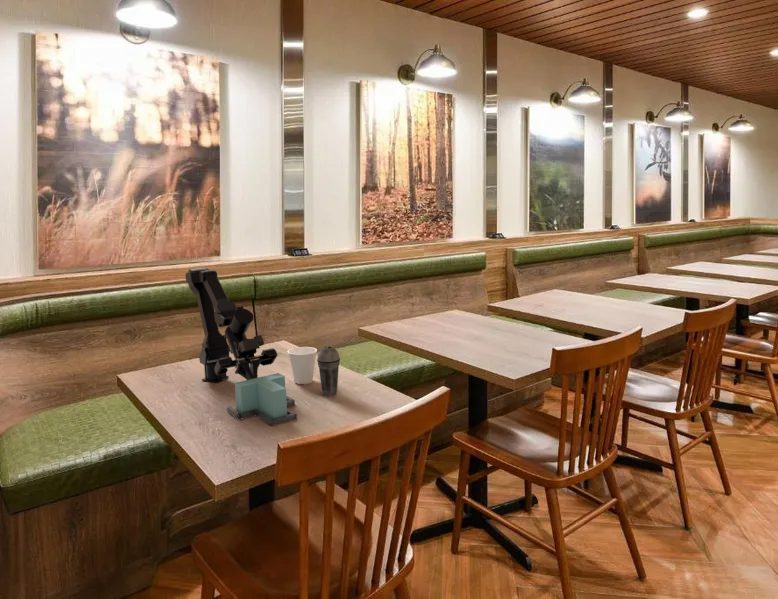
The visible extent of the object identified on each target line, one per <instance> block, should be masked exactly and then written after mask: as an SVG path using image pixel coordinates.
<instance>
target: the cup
mask: <svg viewBox="0 0 778 599" xmlns="http://www.w3.org/2000/svg"><path fill="white" fill-rule="evenodd" d="M317 353H318V349H317V348H315V347H313V346H312V347H311V346H298V347H293V348H290V349H288V350H287V354H288V358H289V361H290V362H289V363H290V368H291V372H292V376H293V381H294V383H295V384H296V383H297V384H296V385H300V384H304V385H309V384H311V383H312V382H313V381H314V374H315V366H316V360H317ZM308 383H309V384H308Z"/></svg>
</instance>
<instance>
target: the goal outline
mask: <svg viewBox="0 0 778 599" xmlns="http://www.w3.org/2000/svg"><path fill="white" fill-rule="evenodd" d="M286 399H287V415H285V416H282V417H278V418H275V419H272V418H270V417H269V416H267V415H265V414H264V413H262V412H261V411H259V410H258V409H253V410H250V411H246V412H242V413H240V412H238V411H237V409H236V408H234V407H232V406H231V405H228V406H226V412H227V411H228V412H229V414H230V413H231V414H232V415H231V414H230V415H231V416H233V415H234V416H235V417H236V419H237V418H238V419H240V420H242V419H241V418H244V419H246V418H245V417H247V418H250V416H251V417H254V415H256V416H255V417H257V418H258V417H259V418H258V419H259V420H261V421H263V422H264V423H265V424H267V425H269V427H274V426H277V425H280V424H284V423H288V422H292V421H295V420H297V417H298V416H297V415H298V414H297V413H296V412H294V411H292V410H290V408H289V407H292V405H293V406H295V405H296V402H295V401H296V400H295V399H293V398H292V397H289V396H288V395H286ZM288 406H289V407H288ZM228 412H227V413H228ZM234 416H233V417H234ZM235 417H234V418H235ZM238 419H237V420H238ZM294 419H295V420H294Z"/></svg>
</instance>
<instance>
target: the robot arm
mask: <svg viewBox="0 0 778 599" xmlns="http://www.w3.org/2000/svg"><path fill="white" fill-rule="evenodd" d="M184 277H185V281H186V283H187V285H188V288H189V290H190V291H191V292H192V293H193V294H194V295H195V296H196V301H197V306H198V310H199V314H200V319H201V324H202V328H203V333H204V337H203V340H202V343H201V347H202V348H201V351H200V353H199V356H198V359H199V363H200V364H201V365H203V366H204V377H203V378H202V379H201V381H202V382H210V383H220V382H222V381H224V380H226V379H228V378H229V375H227V373H228V370H229V368H234V369H235V371H234V373H235V374H238V375H240V376H241V377H242V378H244V379H245V380H250V379H254V378H259V376H258V372H259V371H258V370H259V369H258V368H259V366H263V367H264V366H268V365H273V363H274V362H275V361H276V359H277V357H278V354H279V353H278V352H277V349H275V348H267V349H263V350H262V352H260V354H258V355H255V354H257V352H258V351H257V350H258V349H260V348H261V347H262V346H264V345H265V341H264V338H263V336H262V335H261V334H258V335H256V336H254V337H253V338H248V337H247V335H246V333H247V332H248V331H249V328H250V326H251V325H252V323H253V321H254V314H253V313H252V312H251V311H250V310H249V309H246V308H244V306H243V305H239V306H238V305H237V304H236V303H234V302H233V301H231V300H229V298H228V296H227V294H226V292H225V290H224V288H223V285H222V283H221V282H220V280H219V278H218V272H217V270H214V269H209V267H199V268H189V269H188V271H187V272H186V273H185V276H184ZM219 327H220V328H224V327H226V328H225V330H224V335H223V334H222V333H221V332H220V330H219ZM230 354H231V355H233V358H234V359H232V357H231V356H230Z"/></svg>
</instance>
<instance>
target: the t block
mask: <svg viewBox="0 0 778 599" xmlns="http://www.w3.org/2000/svg"><path fill="white" fill-rule="evenodd" d="M285 382H286V376H285V375H283V374H281V373H279V372H278V373H272V374H267V375H264V376H258V378H254V379H250V380H247V379H245V380H241V381H237V382H234V391H235V405H236V408H235V410H237V411H238V412H240V413H242V412H246V411H250V410H253V409H258V410H259V411H261V412H262V413H264V414H265V415H267V416H269V417H270V418H272V419H275V418H278V417H282V416H285V415H287V409H288V407H287V399H286V396H287V389H286V383H285Z"/></svg>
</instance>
